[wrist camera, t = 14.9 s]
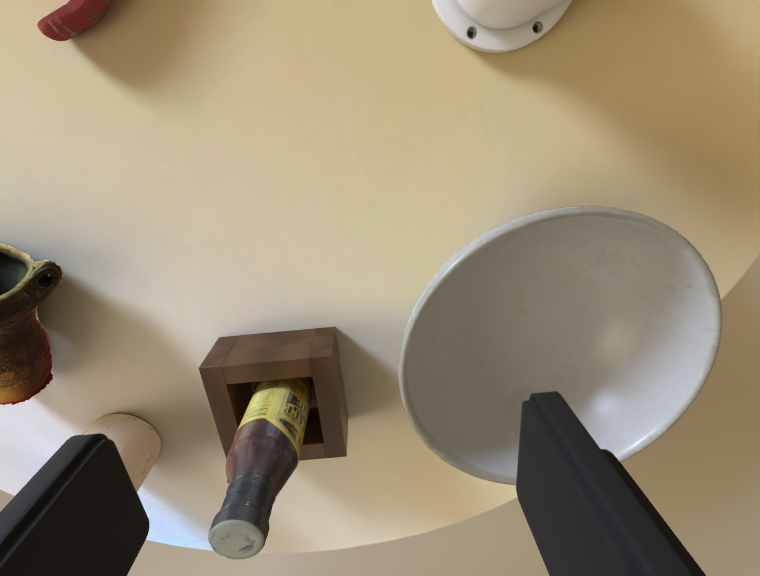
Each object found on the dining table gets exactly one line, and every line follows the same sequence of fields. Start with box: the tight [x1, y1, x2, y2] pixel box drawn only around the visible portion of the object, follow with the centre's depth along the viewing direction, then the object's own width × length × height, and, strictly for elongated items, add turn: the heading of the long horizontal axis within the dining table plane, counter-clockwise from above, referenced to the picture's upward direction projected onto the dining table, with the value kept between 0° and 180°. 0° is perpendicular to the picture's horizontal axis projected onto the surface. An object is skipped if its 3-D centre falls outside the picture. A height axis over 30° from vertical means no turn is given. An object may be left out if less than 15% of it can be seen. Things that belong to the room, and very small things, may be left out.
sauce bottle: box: [208, 377, 312, 559], centre depth 37 cm, size 6×6×20 cm
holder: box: [199, 327, 348, 461], centre depth 44 cm, size 13×13×6 cm
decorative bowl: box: [398, 206, 722, 485], centre depth 38 cm, size 27×27×12 cm
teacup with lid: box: [82, 414, 161, 492], centre depth 44 cm, size 12×9×12 cm
